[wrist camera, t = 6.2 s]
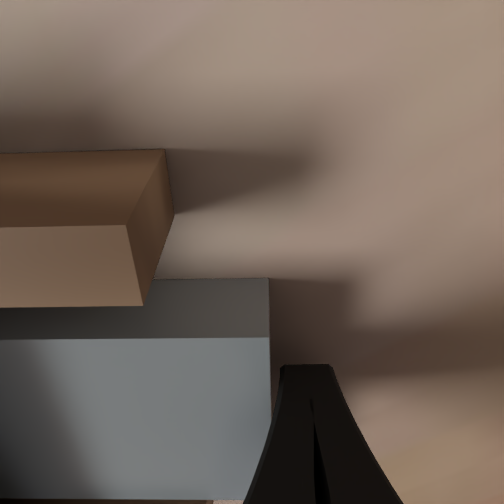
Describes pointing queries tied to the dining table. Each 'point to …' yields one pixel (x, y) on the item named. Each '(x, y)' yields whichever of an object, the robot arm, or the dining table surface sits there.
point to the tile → (137, 395)
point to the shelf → (82, 237)
